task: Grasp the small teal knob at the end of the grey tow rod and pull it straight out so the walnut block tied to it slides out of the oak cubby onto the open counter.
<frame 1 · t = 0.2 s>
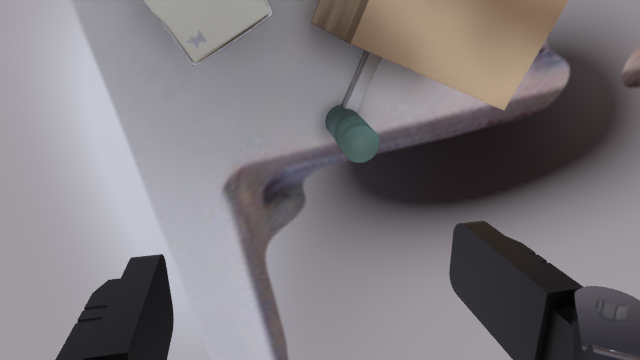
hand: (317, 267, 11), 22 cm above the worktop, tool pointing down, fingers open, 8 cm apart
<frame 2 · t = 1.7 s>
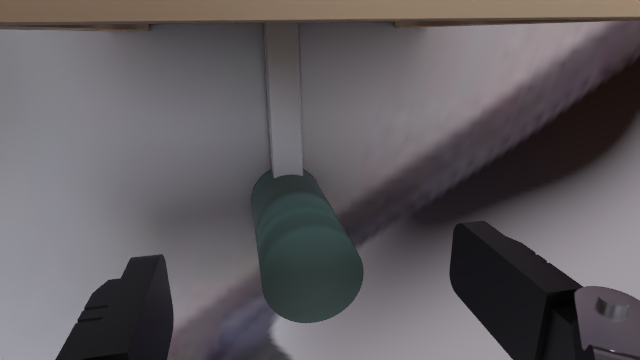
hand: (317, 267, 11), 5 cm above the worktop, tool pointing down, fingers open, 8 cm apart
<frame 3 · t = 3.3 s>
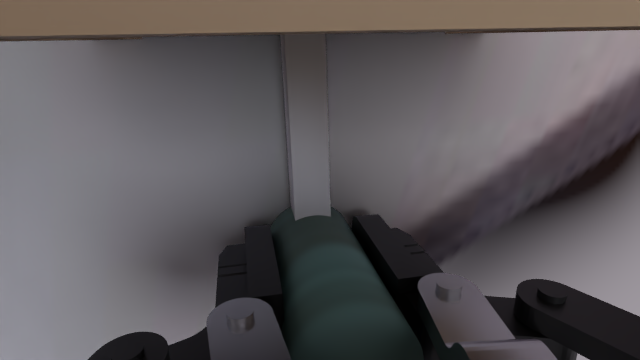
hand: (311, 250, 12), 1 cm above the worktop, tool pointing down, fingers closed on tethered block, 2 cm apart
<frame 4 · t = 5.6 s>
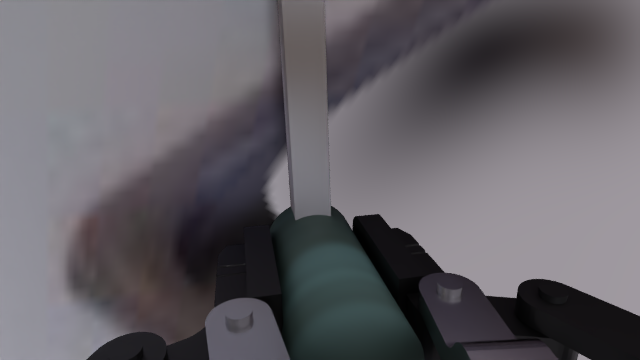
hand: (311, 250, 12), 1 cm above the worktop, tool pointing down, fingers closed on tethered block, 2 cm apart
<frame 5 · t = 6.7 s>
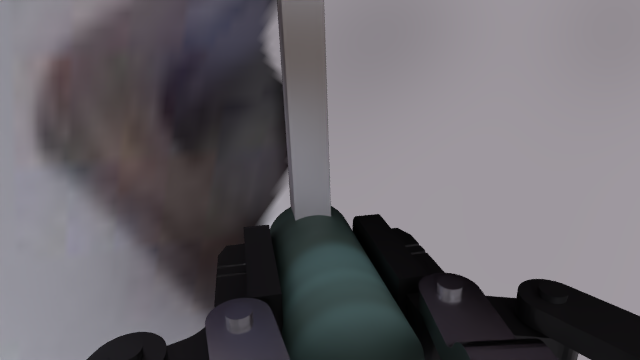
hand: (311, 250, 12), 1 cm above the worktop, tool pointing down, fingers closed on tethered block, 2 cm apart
when the fingers open (1 cm above the worktop, at t = 7.9 s): tethered block stays where it is, on the worktop.
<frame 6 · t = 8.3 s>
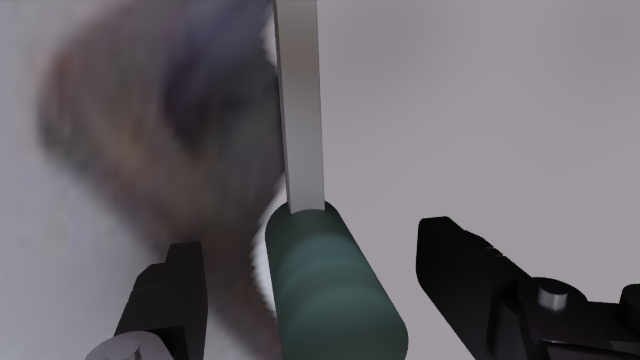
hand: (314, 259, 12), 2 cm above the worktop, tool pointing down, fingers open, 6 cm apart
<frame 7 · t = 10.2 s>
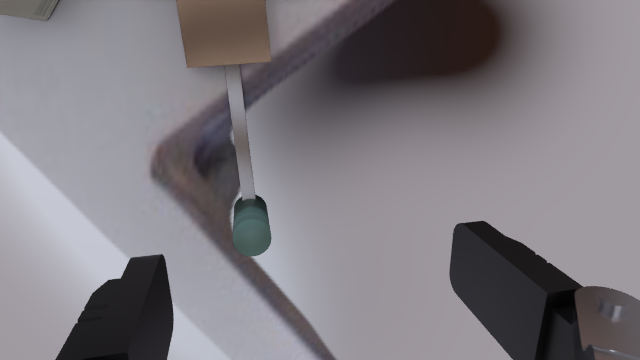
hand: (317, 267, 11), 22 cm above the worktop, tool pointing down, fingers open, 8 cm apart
tethered block: (226, 24, 29), on the worktop
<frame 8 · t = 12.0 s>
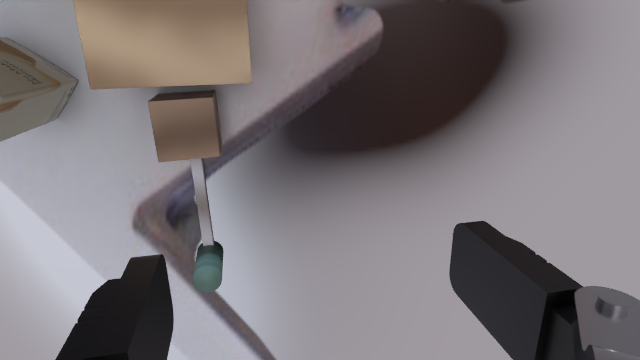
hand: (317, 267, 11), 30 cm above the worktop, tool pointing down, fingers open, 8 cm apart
oak cubby: (180, 1, 35), on the worktop
skincare box: (31, 78, 35), on the worktop
tethered block: (191, 119, 38), on the worktop
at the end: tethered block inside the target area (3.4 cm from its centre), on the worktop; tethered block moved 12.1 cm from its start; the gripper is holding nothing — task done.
